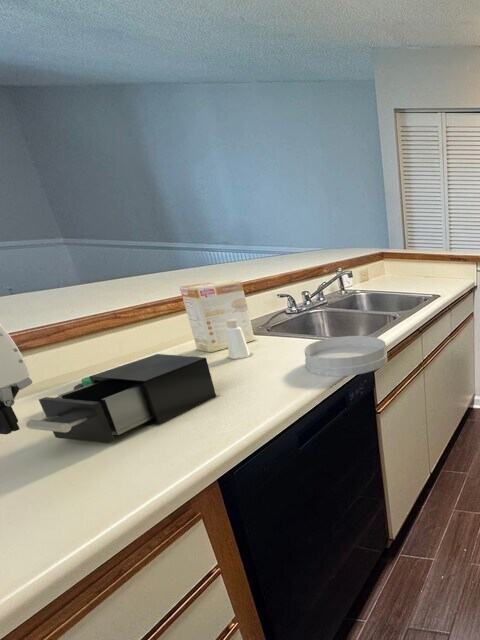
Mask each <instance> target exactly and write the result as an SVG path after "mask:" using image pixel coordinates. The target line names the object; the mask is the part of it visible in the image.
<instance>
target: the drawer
mask: <svg viewBox="0 0 480 640" xmlns="http://www.w3.org/2000/svg"><path fill="white" fill-rule="evenodd" d="M57 397H59V398H56V397H50V396H49V397H48V396H44V397H42V398H39V399H38V401H39V404H40V407H41V409H42V411H43V413H44V415H45V417H44V418H41V419H29V420H28V421H27V422H26V424H25V426H26V428H27V429H29V430H38V431H47V432H52V434H53V435H54V438H55V439H64V440H73V441H82V442H91V443H100V444H110V443H112V442H114V441H115V437H114V436H120V435H121V434H124V433H125V432H128V431H130V430H132V429H134V428H136V427H138V426H141V425H142V424H145V422H147V421H149V420H151V419H153V418H154V417H153V414H152V411H151V408H150V405H149V402H148V399H147V396H146V394H145V391H144V388H143V384H132V383H120V382H108V381H98V382H95V383H92V384H90V385H87V386H84V387H81V388H78V389H75V390H74V389H73V390H70V391H67V392H63V393H61V394H58V395H57Z"/></svg>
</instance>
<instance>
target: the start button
mask: <svg viewBox="0 0 480 640" xmlns="http://www.w3.org/2000/svg"><path fill="white" fill-rule="evenodd" d="M80 382H81V383H82V384H83V387H84V386H87V385H90V384H92V383H91V380H90V377H89V376H86V377H84V378H81V380H80Z"/></svg>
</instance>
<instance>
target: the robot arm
mask: <svg viewBox="0 0 480 640" xmlns="http://www.w3.org/2000/svg"><path fill="white" fill-rule="evenodd" d="M32 384H33V380H32V379H31V378H30V370H29V367H28V365H27V362H26V360H25V359H24V356H23V354H22V352H21V351H20V349H19V347H18V345H17V344H16V343H15V341H14V340H13V338H12V337H11V336H10V334H9V332H8V331H7V330H6V328H4V327H3V325H2V324H1V323H0V435H8V434H9V435H10V434H11V433H12V432H17V431H19V430H20V429H21V428H20V426H19V419H18V416H17V415H16V413H15V411H14V408H13V406H14V405H15V398H16V397H17V395H18V393H19V391H21V390H24V389H26V388H27V387H29V386H31V385H32Z"/></svg>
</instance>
